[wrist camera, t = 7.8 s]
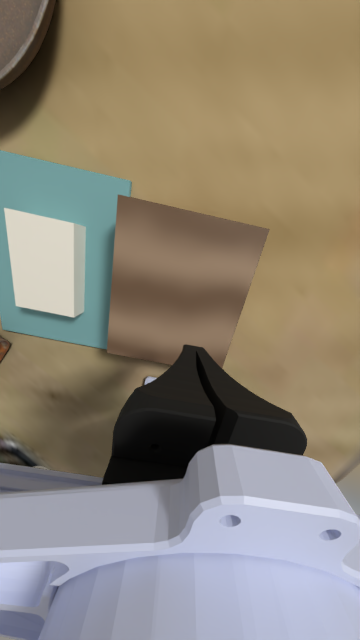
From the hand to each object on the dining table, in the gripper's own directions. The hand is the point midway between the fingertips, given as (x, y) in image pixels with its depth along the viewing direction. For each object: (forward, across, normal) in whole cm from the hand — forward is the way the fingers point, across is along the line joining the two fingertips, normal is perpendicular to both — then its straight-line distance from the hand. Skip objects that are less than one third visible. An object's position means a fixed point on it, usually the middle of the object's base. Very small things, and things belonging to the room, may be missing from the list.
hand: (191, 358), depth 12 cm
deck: (+9, +2, -3) cm, 10 cm away
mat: (+9, +15, -3) cm, 18 cm away
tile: (+7, +15, -3) cm, 17 cm away
